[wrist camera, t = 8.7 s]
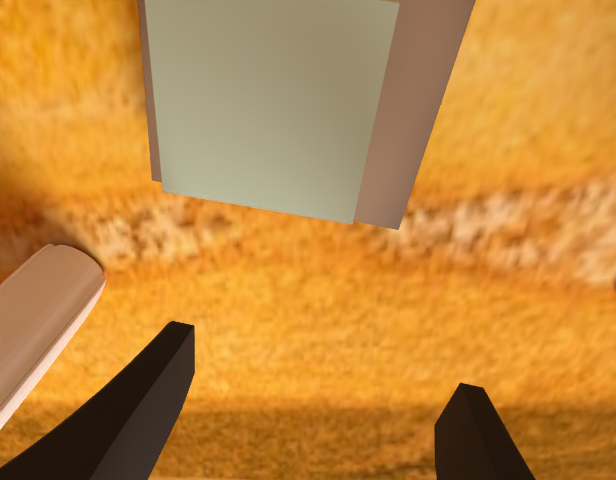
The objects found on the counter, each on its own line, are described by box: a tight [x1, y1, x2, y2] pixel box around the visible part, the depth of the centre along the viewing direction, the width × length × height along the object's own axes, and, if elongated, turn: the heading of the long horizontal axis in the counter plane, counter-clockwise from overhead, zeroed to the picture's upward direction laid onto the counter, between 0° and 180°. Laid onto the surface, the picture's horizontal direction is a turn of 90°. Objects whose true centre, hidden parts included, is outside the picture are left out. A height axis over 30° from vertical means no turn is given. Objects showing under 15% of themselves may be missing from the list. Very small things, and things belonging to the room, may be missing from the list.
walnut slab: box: [138, 0, 475, 230], centre depth 15 cm, size 10×10×3 cm
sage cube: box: [145, 0, 400, 224], centre depth 11 cm, size 5×5×5 cm
